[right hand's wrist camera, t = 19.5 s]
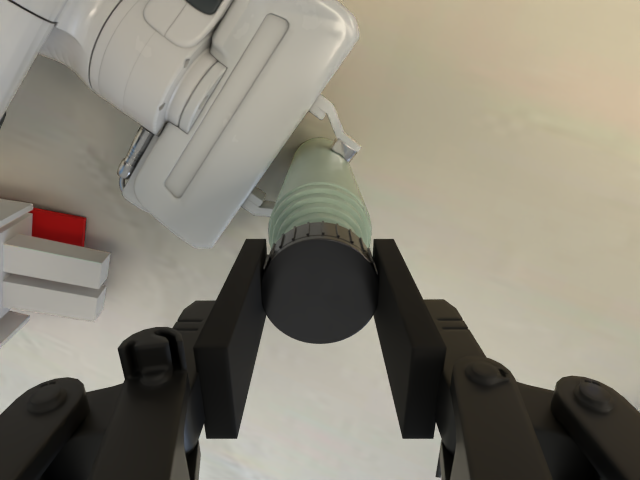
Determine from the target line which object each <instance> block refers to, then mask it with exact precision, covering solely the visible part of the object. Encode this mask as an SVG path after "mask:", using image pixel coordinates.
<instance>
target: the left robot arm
mask: <svg viewBox="0 0 640 480" xmlns="http://www.w3.org/2000/svg"><path fill="white" fill-rule="evenodd" d="M359 37H360V33H359V26H358V21H357V19H356V17H355V16H354V14H353V13H352V12H350V11H349V10H348V9H347V8H346V7H345V6H344V5H342V4H341V3H340V2H339V1H337V0H0V128H1V126H2V124H3V122H4V119H5V116H6V110H7V108H8V106H9V104H10V103H11V101H12V99H13V97H14V95H15V94H16V92H17V90H18V88H19V87H20V85H21V83H22V81H23V80H24V78H25V76H26V74H27V73H28V71H29V69H30V67H31V66H32V64H33V62H34V60H35V58H36V57H37V55H38V53H39V54H40V55H43V56H45V57H47V58H50V59H53V60H55V61H58V62H60V63H62V64H64V65H65V66H67V67H68V68H70V69H71V70H72V71H73V72H75V73H76V75H77V76H78V77H79V78H80V79H81V80H82V81H83V83H84V84H85V85H86V86H87V87H88V88H89V89H90V90H92V91H93V92H94V93H95V94H97V95H98V96H100V97H101V98H103V99H104V100H105V101H107V102H108V103H110V104H111V105H113V106H114V107H116V108H117V109H118V110H120V111H121V112H123V113H124V114H126V115H127V116H129V117H130V118H131V119H133V120H134V121H136V122H137V123H139V124H140V125H141V127H140V128H139V130H138V132H137V134H136V136H135V138H134V140H133V142H132V144H131V147H130V149H129V152H128V153H127V155H126V157H125V158H124V159H123V160H122V161H121V163H120V165H119V167H118V170H117V174H118V175H119V176H120V177H119V186H120V189H121V192H122V195H123V197H124V198H125V199H126V200H127V201H129V202H130V203H132V204H133V205H135V206H136V207H138V208H140V209H141V210H143V211H145V212H147V213H150V214H151V215H152V216H153V217H154V218H156V219H157V220H158V221H159V222H160V223H161V224H162V225H164V226H165V227H166V228H167V229H169V230H170V231H171V232H172V233H174V234H175V235H176V236H178V237H179V238H180V239H182V240H183V241H184V242H186V243H187V244H189V245H190V246H192V247H194V248H197V249H208V248H212V247H213V246H214V244H215V243H216V242H217V240H218V239H219V237H220V236H221V235H222V233H223V232H224V230H225V229H226V227H227V226H228V225H229V223H230V222H231V220H232V219H233V217H234V216H235V214H236V213H237V212H238V210H239V209H240V207H242V208H244V209H245V210H247V211H248V212H250V213H251V214H253V215H256V216H266V217H270V216H271V214H272V211H273V208H274V206H275V203H276V202H271V201H264V199H265V197H266V193H264V192H263V191H261V190H260V189H259V188H257V187H256V185H257V183H258V182H259V180H260V179H261V177H262V176H263V175H264V173H265V172H266V170H267V169H268V168H269V166H270V165H271V163H272V162H273V160H274V159H275V158H276V156H277V155H278V153H279V152H280V150H281V149H282V148H283V146H284V145H285V143H286V142H287V141H288V139H289V138H290V136H291V135H292V133H293V132H294V131H295V129H296V128H297V126H298V125H299V123H300V122H301V121H302V119H303V118H304V116H305V115H306V114H307V112H308V111H309V112H311V113H312V114H313V115H315V116H316V117H317V118H318V119H320V120H323V118H324V117H325V113H326V114H327V115H328V118H329V120H330V123H331V125H332V128H333V130H334V133H335V135H336V139H335V140H334V141H333V143H332V144H331V149H332V150H333V151H334V152H336V153H337V154H339V155H342V157H343V158H344V159H345V160H346V161H347V162H349V163H350V161H351V160H352V159H353V158H354V156H355V155H356V154H357V152H358V151H359V150H360V149H361V145H360V144H358V143H357V142H356V141H355V140H354V139H352V138H351V137H350V136H349V135H347V134H346V133H345V132H344V130H343V127H342V125H341V122H340V119H339V117H338V114H337V112H336V109H335V107H334V105H333V103H331V102H330V101H329V100H328V99H326V98H325V97H324V96H323V95H321V92H322V91H323V89H324V88H325V87H326V85H327V84H328V82H329V81H330V79H331V78H332V77H333V75H334V74H335V73H336V71H337V70H338V68H339V67H340V66H341V64H342V63H343V61H344V60H345V58H346V57H347V56H348V54H349V53H350V51H351V50H352V48H353V47H354V46H355V44H356V43H357V41H358V40H359ZM125 179H129V180H128V182H127V183H126V185H125Z"/></svg>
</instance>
